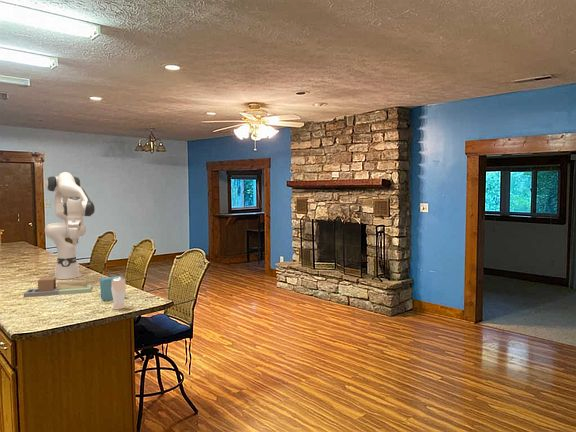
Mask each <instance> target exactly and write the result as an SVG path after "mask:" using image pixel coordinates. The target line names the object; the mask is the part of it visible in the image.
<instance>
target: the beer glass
mask: <svg viewBox="0 0 576 432" xmlns="http://www.w3.org/2000/svg"><path fill="white" fill-rule="evenodd" d="M126 287H127V286H126V279H125V277H123V278H115V279H112V280H111V292H112V296H113V300H112V301H113V305H112V310H123V309H125V308H126V304H125V297H126V290H127V289H126Z"/></svg>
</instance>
